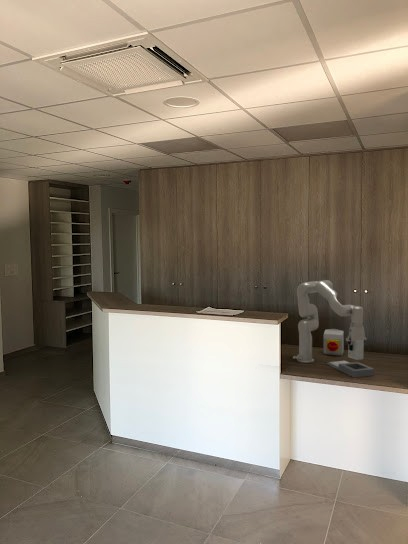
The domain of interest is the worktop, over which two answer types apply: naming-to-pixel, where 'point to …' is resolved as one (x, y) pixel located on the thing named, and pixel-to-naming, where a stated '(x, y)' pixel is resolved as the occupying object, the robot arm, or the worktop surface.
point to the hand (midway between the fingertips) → (355, 349)
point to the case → (353, 368)
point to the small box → (356, 350)
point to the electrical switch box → (333, 342)
